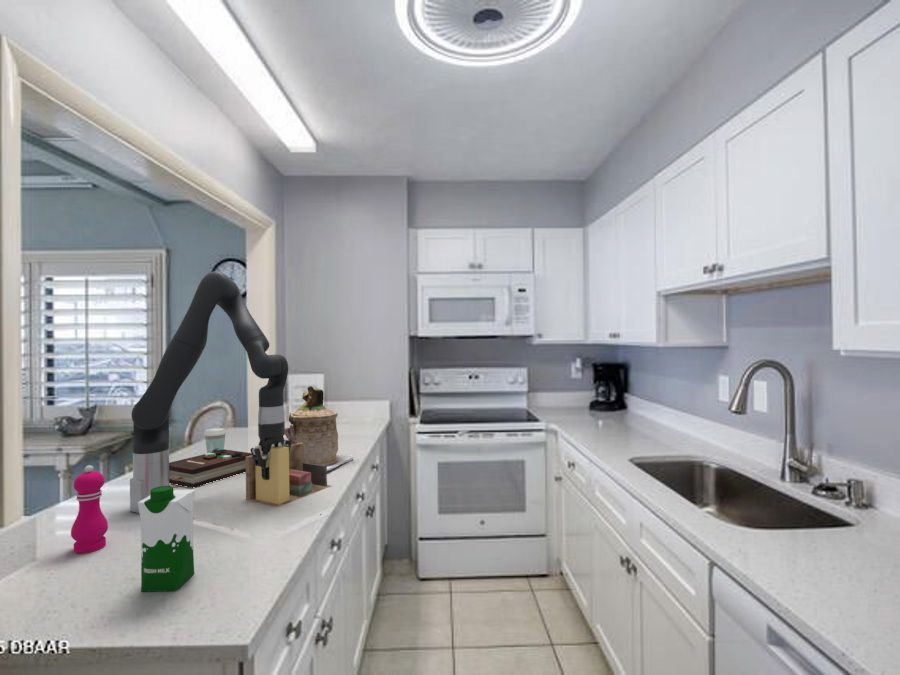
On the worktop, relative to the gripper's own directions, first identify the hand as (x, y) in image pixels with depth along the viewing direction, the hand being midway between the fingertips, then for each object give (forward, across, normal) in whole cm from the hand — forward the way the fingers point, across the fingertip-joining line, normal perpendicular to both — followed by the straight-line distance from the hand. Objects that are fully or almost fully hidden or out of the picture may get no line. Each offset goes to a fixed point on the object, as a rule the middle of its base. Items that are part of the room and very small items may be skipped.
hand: (272, 477), depth 145 cm
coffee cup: (+9, -30, -70) cm, 77 cm away
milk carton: (+9, +42, +18) cm, 47 cm away
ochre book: (+7, 0, 0) cm, 7 cm away
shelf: (+8, -8, 0) cm, 11 cm away
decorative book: (+9, -12, -47) cm, 49 cm away
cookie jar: (+9, -40, -23) cm, 47 cm away
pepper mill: (+9, +42, -16) cm, 45 cm away
